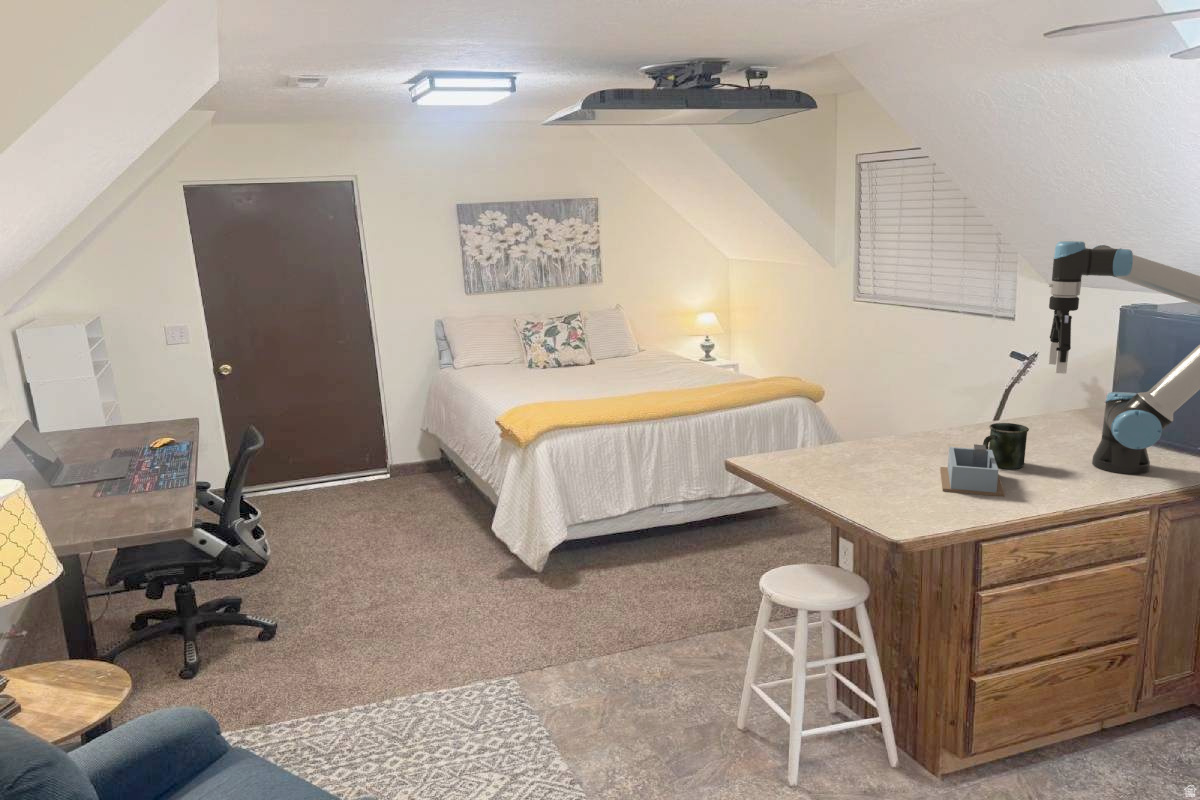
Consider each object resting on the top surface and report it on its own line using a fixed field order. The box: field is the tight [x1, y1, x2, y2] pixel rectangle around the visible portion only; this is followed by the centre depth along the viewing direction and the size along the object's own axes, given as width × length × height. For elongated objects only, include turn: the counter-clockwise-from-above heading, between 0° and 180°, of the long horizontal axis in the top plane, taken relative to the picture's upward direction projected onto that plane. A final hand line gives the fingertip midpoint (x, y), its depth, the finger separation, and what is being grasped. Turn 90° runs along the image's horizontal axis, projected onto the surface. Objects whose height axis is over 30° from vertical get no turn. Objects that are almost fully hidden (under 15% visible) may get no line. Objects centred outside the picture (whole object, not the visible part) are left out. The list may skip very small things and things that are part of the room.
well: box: [939, 446, 1005, 497], centre depth 259 cm, size 16×21×7 cm
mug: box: [982, 422, 1030, 470], centre depth 274 cm, size 11×15×12 cm
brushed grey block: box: [972, 444, 986, 468], centre depth 259 cm, size 6×5×10 cm
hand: (1057, 368), depth 261 cm, fingers open, 13 cm apart
